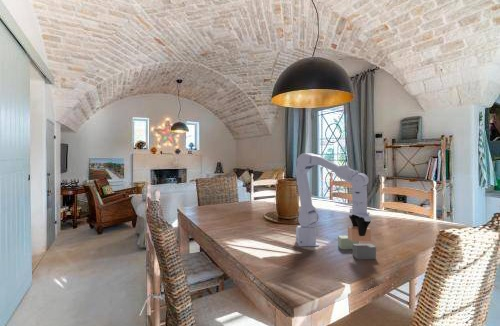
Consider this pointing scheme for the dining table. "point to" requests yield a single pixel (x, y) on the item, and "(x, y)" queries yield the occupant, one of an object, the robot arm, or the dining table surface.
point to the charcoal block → (364, 251)
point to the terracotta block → (354, 234)
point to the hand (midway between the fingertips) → (359, 233)
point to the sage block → (346, 242)
